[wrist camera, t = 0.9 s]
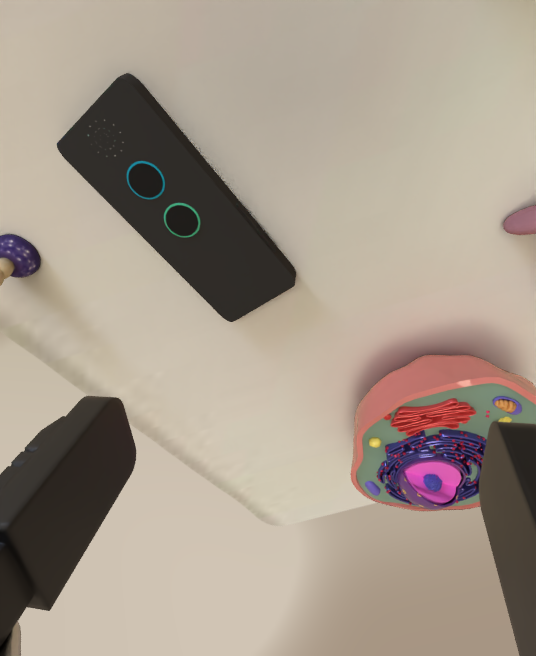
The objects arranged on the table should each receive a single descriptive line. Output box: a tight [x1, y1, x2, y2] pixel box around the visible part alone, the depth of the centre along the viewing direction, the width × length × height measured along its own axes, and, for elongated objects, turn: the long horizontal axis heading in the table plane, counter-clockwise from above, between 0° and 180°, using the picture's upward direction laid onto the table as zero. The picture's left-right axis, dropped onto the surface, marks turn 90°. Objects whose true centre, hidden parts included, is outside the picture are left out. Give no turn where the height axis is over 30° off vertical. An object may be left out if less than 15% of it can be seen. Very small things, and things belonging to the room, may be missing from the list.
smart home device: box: [57, 73, 296, 322], centre depth 36 cm, size 8×2×20 cm
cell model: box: [351, 355, 536, 511], centre depth 43 cm, size 17×20×11 cm
